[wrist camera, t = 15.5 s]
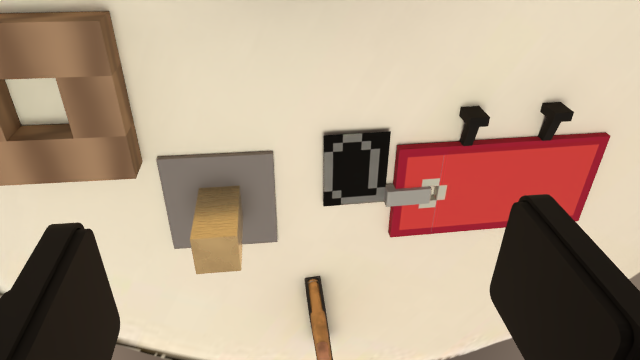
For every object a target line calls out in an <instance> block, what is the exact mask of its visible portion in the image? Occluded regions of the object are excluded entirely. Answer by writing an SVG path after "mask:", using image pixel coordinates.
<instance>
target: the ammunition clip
mask: <svg viewBox="0 0 640 360" xmlns="http://www.w3.org/2000/svg"><path fill="white" fill-rule="evenodd" d="M305 286H306V294H307V302H308V310H309V316H310V322H311V328H312V333H313V339H314V345H315V351H316V356H317V360H333V357H332V351H331V344H330V337H329V330H328V323H327V316H326V309H325V303H324V297H323V291H322V285H321V279H320V276H319V277H312V278H306V279H305Z"/></svg>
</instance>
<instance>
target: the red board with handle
mask: <svg viewBox="0 0 640 360" xmlns="http://www.w3.org/2000/svg"><path fill="white" fill-rule="evenodd" d="M540 112H541V113H543V114H544V115H545V116H546V117H547V119H546V121H545V123H544V125H543V127H542V129H541V131H540V133H539V135H538V136H535V137H518V138H502V139H486V140H474V139H475V137H476V134H477V131H478V129H479V127H483V126H488V124H489V119H490V117H489V116H488V115H487V114H486V113H485V112H484V111H483V110H482V108H481V107H480V106H472V107H461V109H460V115H459V116H460V117H461V118H462V120H463V121H464V122H465V123H466V125H465V128H464V130H463V133H462V136H461V139H460V141H456V142H440V143H425V144H409V145H397V151H396V161H395V171H394V181H393V184H386V177H387V166H388V155H389V144H390V134H391V131H390V132H374V133H357V134H341V135H325V136H324V200H323V206H334V205H347V204H360V203H372V202H385V205H386V207H390V206H391V210H390V220H389V230H388V233H389V235H390V237H400V236H411V235H423V234H434V233H446V232H457V231H469V230H481V229H492V228H504V227H506V225H507V222H508V218H509V214H510V211H511V207H512V205H513V204H514V203H515V202H518V201H519V199H520V198H521V197H522V196H524V195H540V194H548V195H550V196H552V197H553V198H554V199H555V200H556V201H557V203H558V204H559V205H560V206H561V207H562V208H563V209H564V210H565V211H566V212H567V213H568V214H569V215H570V217H571V218H572V219H573V220H574V221H578V220H579V218H580V215H581V212H582V210H583V207H584V204H585V202H586V199H587V197H588V194H589V191H590V189H591V186H592V183H593V181H594V178H595V175H596V173H597V170H598V167H599V165H600V162H601V160H602V157H603V154H604V152H605V149H606V146H607V144H608V141H609V138H610V135H608V134H607V133H606V132H605V133H588V134H570V135H554V134H555V132H556V130H557V128H558V127H559V125H560V123H561V122H563V121H571V120H572V116H573V113H574V112H573V111H572V110H570V109H569V108H568V107H566V106H565V105H564V104H562V103H561V102H551V103H543V104H542V107H541V111H540ZM430 186H435V190H434V195H431V190H432V189H431V187H430Z"/></svg>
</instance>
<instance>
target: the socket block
mask: <svg viewBox="0 0 640 360" xmlns="http://www.w3.org/2000/svg"><path fill="white" fill-rule="evenodd" d="M29 78H56V81H57V84H58V88H59V91H60V94H61V98H62V101H63V104H64V108H65V111H66V114H67V118H68V121H69V124H53V125H28V126H21V124H20V121H19V119H18V116H17V113H16V110H15V108H14V105H13V102H12V99H11V96H10V94H9V91H8V88H7V85H6V83H5V80H4V79H29ZM141 164H142V158H141V154H140V149H139V144H138V140H137V135H136V131H135V126H134V122H133V117H132V113H131V108H130V104H129V99H128V94H127V90H126V85H125V81H124V76H123V72H122V67H121V63H120V58H119V54H118V49H117V45H116V40H115V35H114V31H113V26H112V22H111V17H110V13H109V11H103V12H49V13H0V186H3V185H22V184H41V183H60V182H79V181H98V180H117V179H136V177H137V174H138V172H139V169H140V167H141Z"/></svg>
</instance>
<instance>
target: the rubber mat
mask: <svg viewBox="0 0 640 360" xmlns="http://www.w3.org/2000/svg"><path fill="white" fill-rule="evenodd" d="M157 165H158V170H159V175H160V180H161V185H162V190H163V195H164V200H165V205H166V210H167V215H168V220H169V225H170V230H171V235H172V240H173V244H174V249H180V248H191V243H190V236H191V230H192V224H193V219H194V213H195V207H196V202H197V196H198V190H199V188H210V187H226V186H240V194H241V204H242V213H243V233H242V244H254V243H268V242H277V224H276V204H275V185H274V165H273V151H263V152H242V153H222V154H201V155H181V156H160V157H157Z"/></svg>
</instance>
